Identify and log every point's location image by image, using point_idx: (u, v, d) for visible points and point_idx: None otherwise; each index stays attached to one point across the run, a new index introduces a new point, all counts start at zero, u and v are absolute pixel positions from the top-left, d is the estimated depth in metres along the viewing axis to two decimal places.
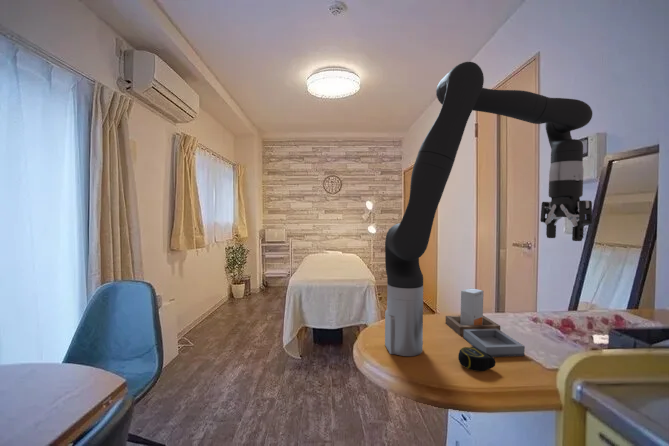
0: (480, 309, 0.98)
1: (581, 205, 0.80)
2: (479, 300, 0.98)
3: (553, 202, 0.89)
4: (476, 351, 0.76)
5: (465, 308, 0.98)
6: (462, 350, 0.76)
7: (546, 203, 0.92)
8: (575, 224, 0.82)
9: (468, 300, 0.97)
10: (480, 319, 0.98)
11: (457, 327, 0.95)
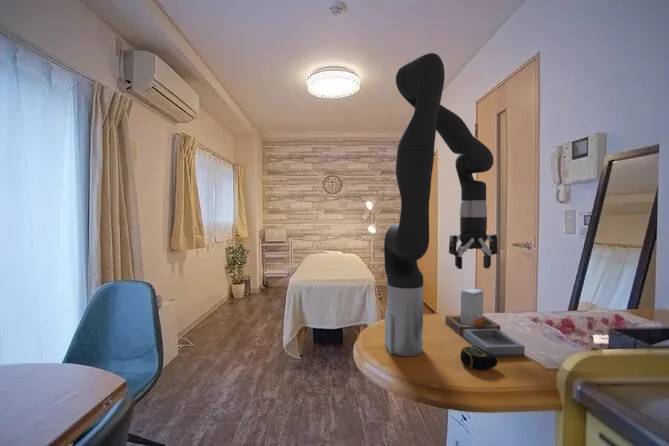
0: (480, 309, 0.98)
1: (495, 239, 0.97)
2: (479, 300, 0.98)
3: (466, 236, 0.97)
4: (478, 350, 0.76)
5: (465, 308, 0.98)
6: (464, 349, 0.76)
7: None
8: (490, 254, 0.97)
9: (468, 300, 0.97)
10: (480, 319, 0.98)
11: (457, 327, 0.95)
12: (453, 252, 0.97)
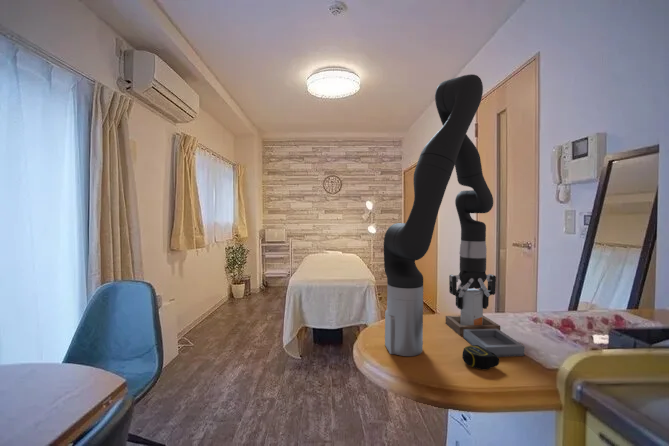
0: (480, 309, 0.98)
1: (494, 279, 0.98)
2: (479, 300, 0.98)
3: (465, 275, 0.97)
4: (480, 350, 0.76)
5: (465, 308, 0.98)
6: (466, 349, 0.77)
7: None
8: (488, 295, 0.98)
9: (468, 300, 0.97)
10: (480, 319, 0.98)
11: (457, 327, 0.95)
12: (454, 293, 0.97)
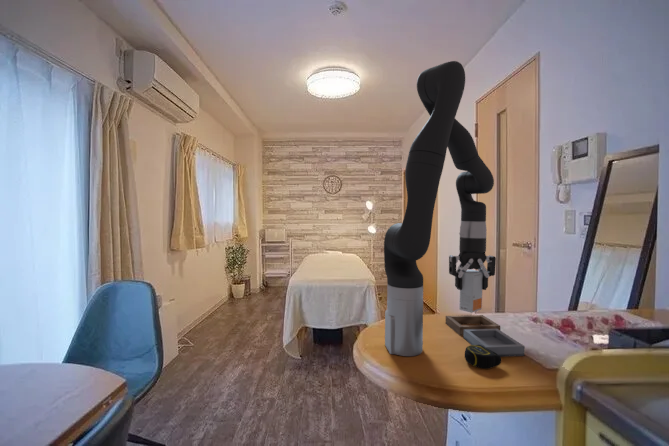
0: (479, 290, 0.98)
1: (494, 260, 0.98)
2: (478, 281, 0.97)
3: (465, 256, 0.97)
4: (482, 349, 0.77)
5: (464, 289, 0.97)
6: (468, 348, 0.77)
7: None
8: (488, 276, 0.98)
9: (467, 280, 0.97)
10: (479, 300, 0.98)
11: (457, 327, 0.95)
12: (453, 273, 0.97)
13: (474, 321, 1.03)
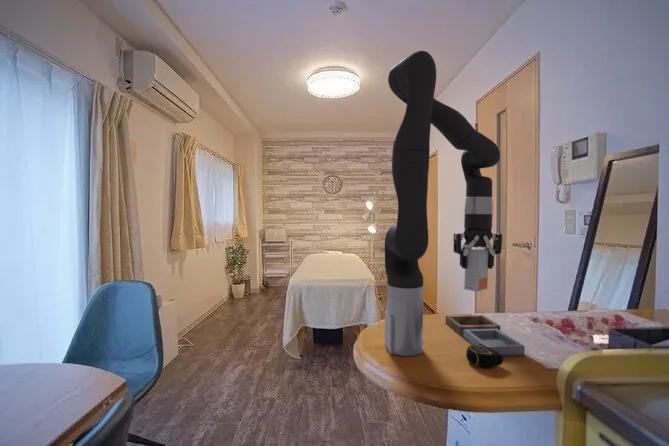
0: (485, 269, 0.94)
1: (500, 238, 0.94)
2: (484, 259, 0.93)
3: (470, 233, 0.93)
4: (484, 348, 0.77)
5: (470, 268, 0.93)
6: (470, 347, 0.77)
7: None
8: (494, 254, 0.94)
9: (473, 258, 0.93)
10: (485, 279, 0.94)
11: (457, 327, 0.95)
12: (458, 251, 0.93)
13: (474, 321, 1.03)
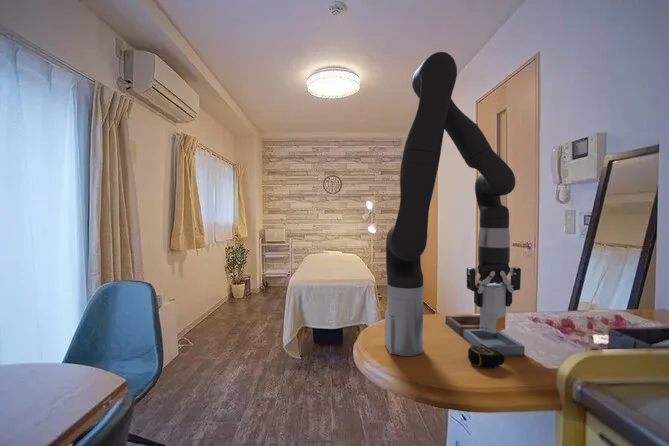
0: (503, 307, 0.85)
1: (519, 272, 0.85)
2: (501, 296, 0.84)
3: (486, 268, 0.84)
4: (485, 349, 0.77)
5: (485, 306, 0.84)
6: (472, 348, 0.77)
7: None
8: (512, 291, 0.85)
9: (488, 296, 0.84)
10: (503, 318, 0.85)
11: (457, 327, 0.95)
12: (472, 288, 0.84)
13: (474, 321, 1.03)
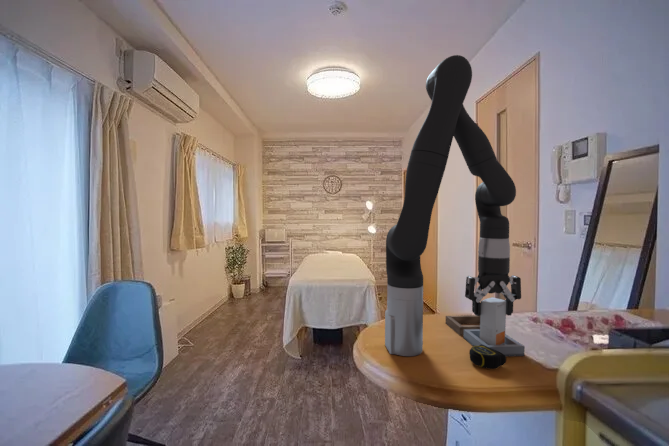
0: (503, 322, 0.85)
1: (519, 282, 0.85)
2: (502, 312, 0.84)
3: (485, 278, 0.84)
4: (486, 349, 0.77)
5: (485, 321, 0.85)
6: (473, 349, 0.76)
7: None
8: (513, 300, 0.85)
9: (489, 311, 0.84)
10: (503, 333, 0.85)
11: (457, 327, 0.95)
12: (470, 297, 0.84)
13: (474, 321, 1.03)
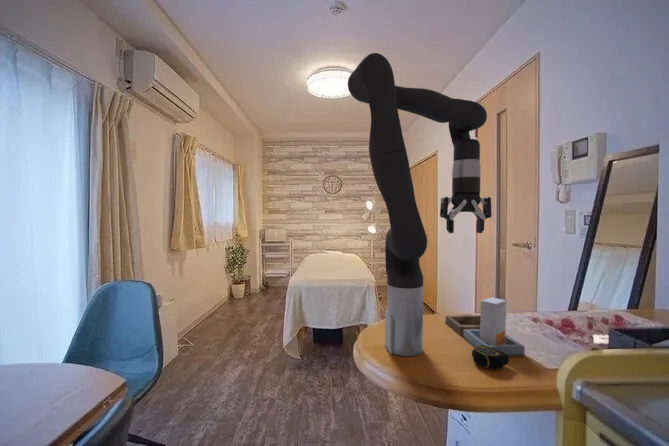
0: (503, 322, 0.85)
1: (489, 201, 0.92)
2: (502, 312, 0.84)
3: (458, 197, 0.91)
4: (489, 349, 0.77)
5: (485, 321, 0.85)
6: (477, 350, 0.76)
7: None
8: (484, 218, 0.92)
9: (489, 311, 0.84)
10: (503, 333, 0.85)
11: (457, 327, 0.95)
12: (444, 215, 0.91)
13: (474, 321, 1.03)
